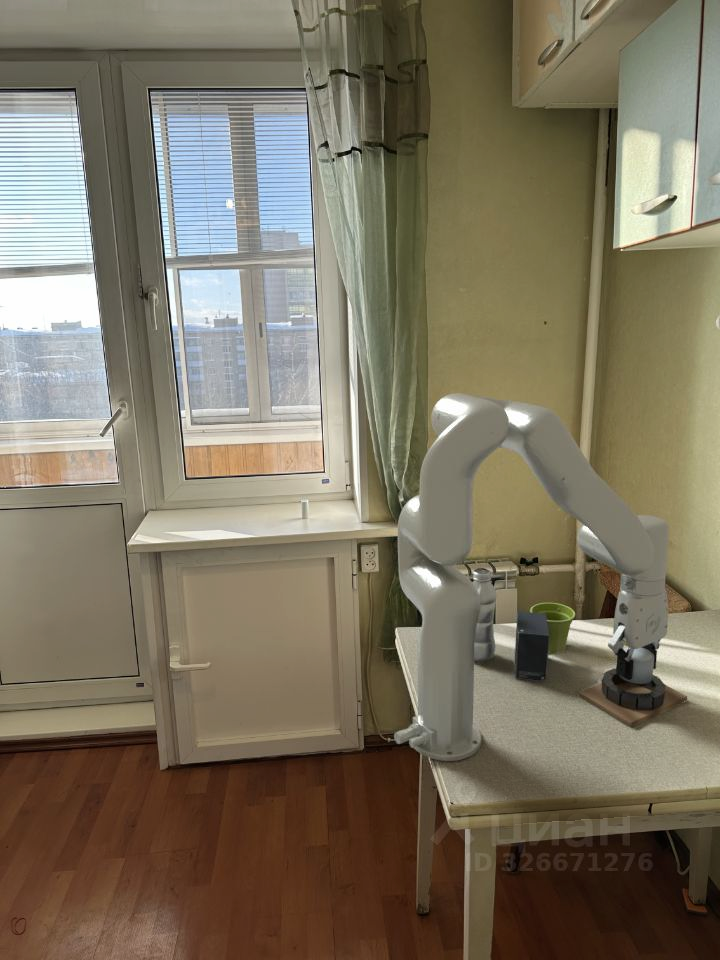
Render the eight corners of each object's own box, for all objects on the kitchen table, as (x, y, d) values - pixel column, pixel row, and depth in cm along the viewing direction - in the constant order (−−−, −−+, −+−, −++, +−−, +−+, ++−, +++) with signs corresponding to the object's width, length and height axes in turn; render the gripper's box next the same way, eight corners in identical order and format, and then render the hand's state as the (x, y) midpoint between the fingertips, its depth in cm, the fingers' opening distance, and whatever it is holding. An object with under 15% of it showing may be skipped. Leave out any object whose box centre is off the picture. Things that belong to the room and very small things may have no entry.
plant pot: (572, 660, 146) (574, 623, 144) (527, 654, 148) (528, 618, 146) (573, 640, 154) (575, 605, 152) (530, 635, 157) (532, 600, 155)
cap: (638, 687, 126) (640, 664, 125) (611, 673, 131) (613, 650, 130) (659, 677, 129) (661, 655, 128) (632, 664, 134) (634, 642, 133)
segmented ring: (637, 717, 124) (639, 704, 123) (589, 689, 133) (590, 677, 132) (676, 698, 129) (677, 687, 128) (627, 673, 138) (628, 662, 138)
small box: (548, 682, 137) (550, 634, 135) (514, 679, 139) (516, 632, 136) (544, 656, 148) (547, 612, 145) (514, 654, 149) (515, 610, 146)
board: (630, 727, 122) (631, 722, 122) (578, 696, 132) (578, 691, 132) (686, 700, 130) (687, 696, 130) (633, 673, 140) (633, 669, 140)
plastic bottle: (462, 663, 146) (463, 575, 141) (467, 648, 152) (469, 563, 147) (492, 667, 144) (495, 578, 139) (497, 652, 150) (499, 566, 145)
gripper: (628, 601, 118) (621, 694, 122) (690, 579, 126) (682, 666, 131) (593, 587, 124) (588, 676, 129) (655, 566, 133) (648, 650, 137)
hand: (635, 670), depth 130 cm, fingers closed on cap, 5 cm apart
